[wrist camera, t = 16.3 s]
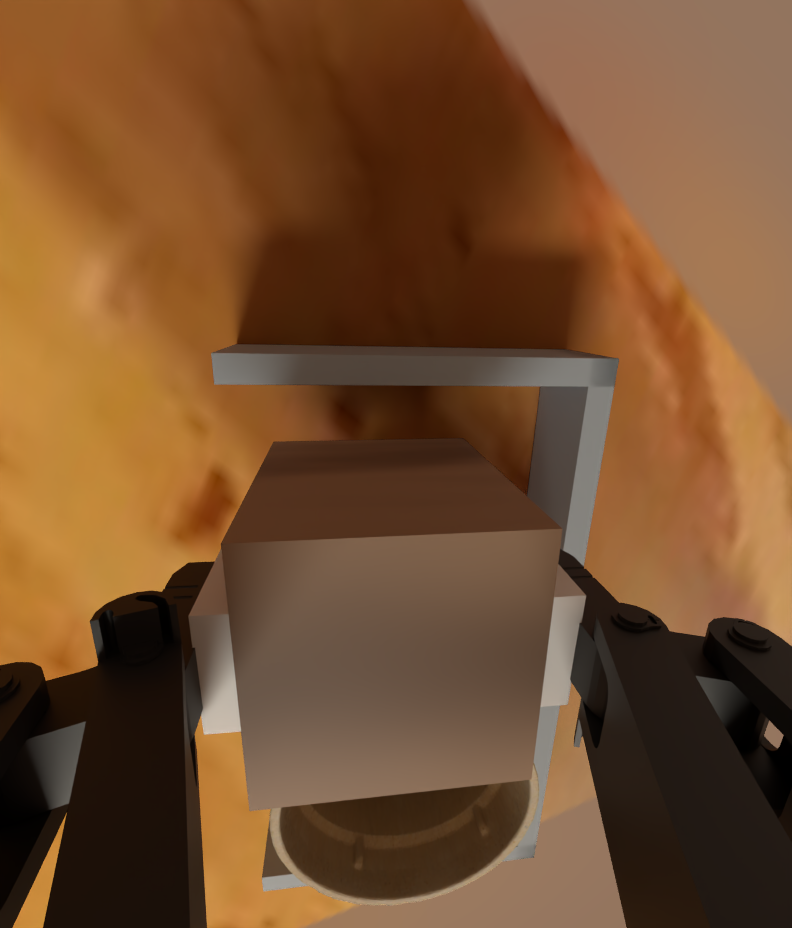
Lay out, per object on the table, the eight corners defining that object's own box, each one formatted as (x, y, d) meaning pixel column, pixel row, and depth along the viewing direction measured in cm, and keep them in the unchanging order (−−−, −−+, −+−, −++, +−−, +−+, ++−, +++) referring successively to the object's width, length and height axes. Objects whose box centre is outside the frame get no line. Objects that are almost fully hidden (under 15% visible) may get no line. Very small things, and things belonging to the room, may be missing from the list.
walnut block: (273, 441, 14) (220, 543, 8) (462, 438, 15) (562, 528, 9) (285, 609, 16) (249, 810, 10) (454, 599, 17) (531, 779, 10)
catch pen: (236, 343, 19) (211, 353, 15) (566, 349, 20) (619, 358, 17) (273, 809, 27) (263, 891, 23) (507, 785, 29) (534, 857, 25)
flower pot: (251, 647, 23) (206, 829, 15) (395, 529, 22) (430, 656, 14) (374, 744, 26) (392, 939, 18) (506, 644, 25) (587, 804, 17)
